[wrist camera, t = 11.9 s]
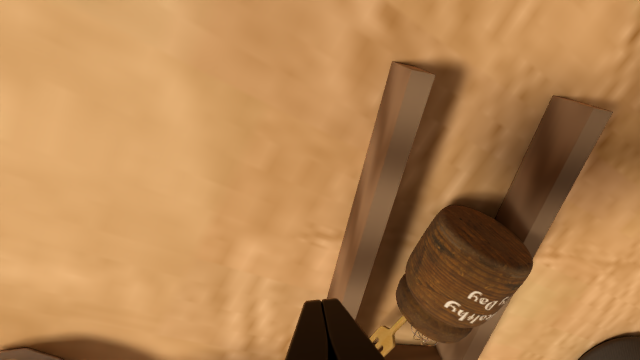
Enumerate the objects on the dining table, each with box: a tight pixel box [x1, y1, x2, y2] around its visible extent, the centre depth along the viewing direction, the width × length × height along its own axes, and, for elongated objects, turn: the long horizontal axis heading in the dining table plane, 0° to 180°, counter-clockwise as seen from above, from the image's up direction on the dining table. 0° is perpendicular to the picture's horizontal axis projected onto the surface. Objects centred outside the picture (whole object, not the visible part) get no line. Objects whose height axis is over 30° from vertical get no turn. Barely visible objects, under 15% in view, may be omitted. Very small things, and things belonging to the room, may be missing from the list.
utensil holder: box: [369, 205, 533, 357], centre depth 23 cm, size 6×6×12 cm
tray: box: [327, 62, 613, 360], centre depth 23 cm, size 22×11×3 cm, turn 168°
